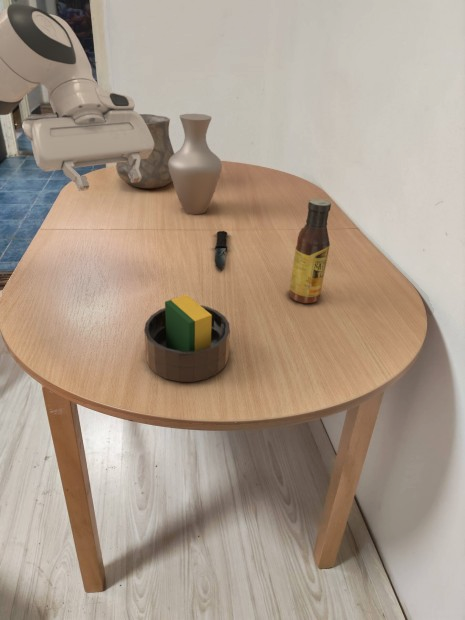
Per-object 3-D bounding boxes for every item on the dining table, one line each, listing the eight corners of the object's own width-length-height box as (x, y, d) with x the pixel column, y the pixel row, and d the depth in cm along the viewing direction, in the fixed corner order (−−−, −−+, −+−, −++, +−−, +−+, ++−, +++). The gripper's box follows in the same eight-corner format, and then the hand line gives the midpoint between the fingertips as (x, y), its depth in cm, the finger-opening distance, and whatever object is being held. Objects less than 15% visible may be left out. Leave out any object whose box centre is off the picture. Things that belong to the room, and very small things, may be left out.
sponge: (189, 370, 70) (189, 323, 66) (166, 347, 75) (164, 301, 70) (210, 361, 73) (211, 314, 68) (186, 339, 77) (186, 294, 72)
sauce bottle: (313, 308, 88) (330, 211, 77) (283, 299, 91) (296, 203, 80) (324, 294, 93) (341, 200, 82) (296, 285, 96) (309, 193, 85)
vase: (202, 223, 121) (203, 124, 107) (159, 211, 126) (155, 116, 113) (229, 208, 132) (233, 116, 118) (188, 197, 137) (188, 108, 124)
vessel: (96, 184, 143) (88, 117, 132) (146, 170, 159) (143, 108, 148) (146, 200, 133) (142, 129, 122) (194, 183, 149) (194, 118, 138)
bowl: (176, 396, 66) (175, 365, 63) (131, 350, 75) (129, 320, 71) (244, 362, 74) (246, 332, 70) (197, 324, 82) (197, 296, 79)
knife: (216, 230, 115) (228, 230, 115) (216, 235, 115) (228, 235, 115) (212, 268, 97) (226, 268, 97) (212, 274, 98) (226, 274, 98)
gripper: (19, 102, 69) (51, 184, 68) (140, 97, 80) (169, 167, 79) (16, 127, 74) (46, 203, 73) (130, 119, 85) (158, 185, 84)
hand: (111, 184), depth 76 cm, fingers open, 8 cm apart
